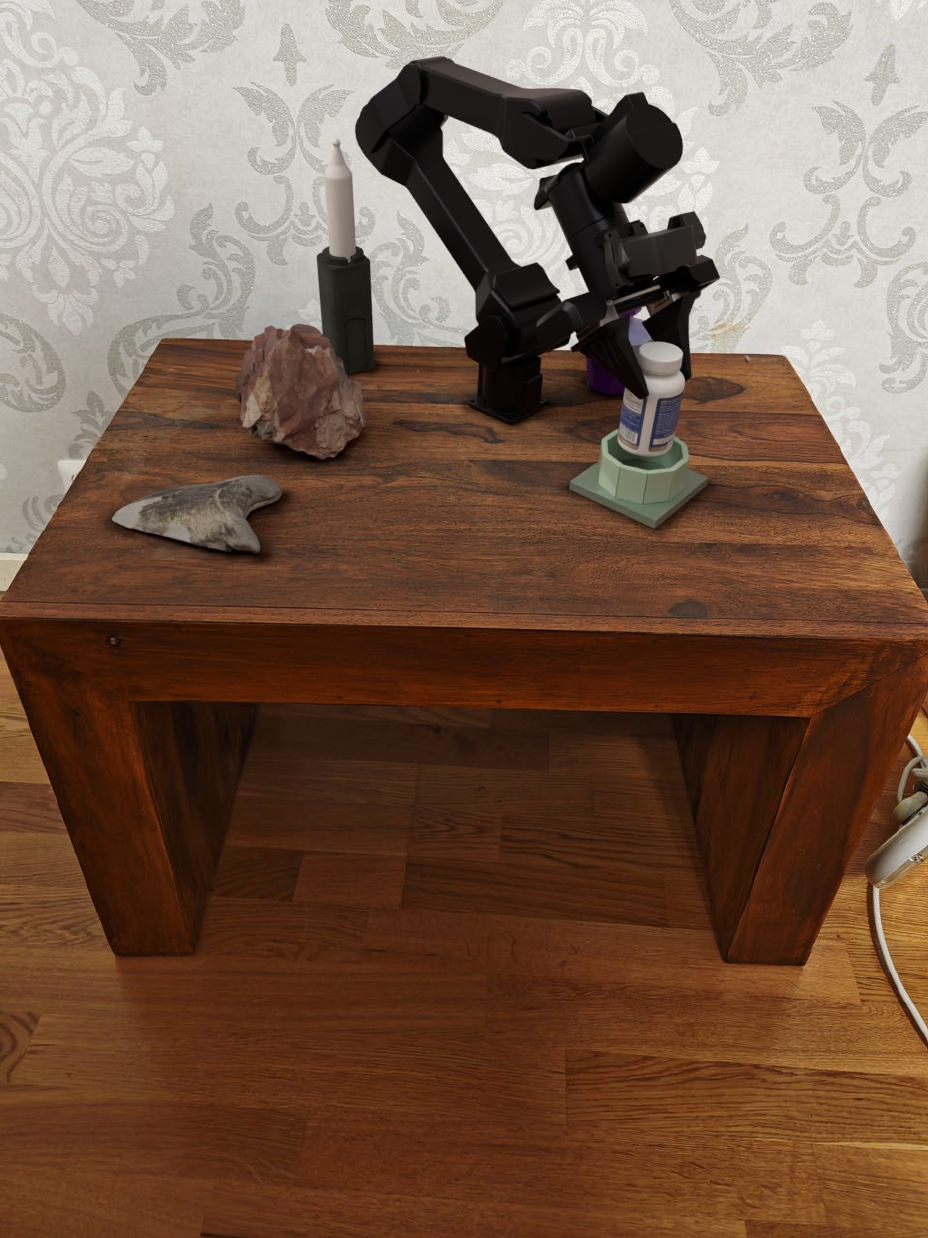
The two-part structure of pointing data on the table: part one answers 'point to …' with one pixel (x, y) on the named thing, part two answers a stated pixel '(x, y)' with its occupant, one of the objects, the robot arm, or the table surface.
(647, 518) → the cup holder
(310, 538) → the table surface
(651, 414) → the pill bottle
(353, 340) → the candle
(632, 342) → the potion bottle
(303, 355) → the mineral specimen
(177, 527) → the fossil
